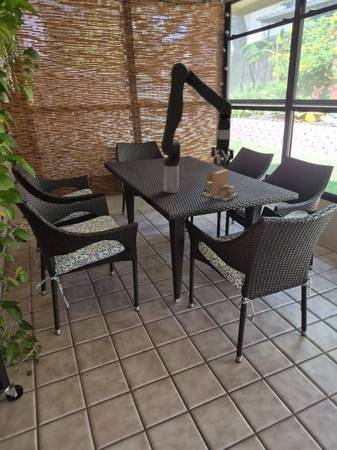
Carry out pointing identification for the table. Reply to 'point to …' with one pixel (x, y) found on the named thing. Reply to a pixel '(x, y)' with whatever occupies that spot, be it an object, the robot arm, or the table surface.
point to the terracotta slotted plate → (219, 181)
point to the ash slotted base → (224, 194)
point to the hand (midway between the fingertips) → (221, 165)
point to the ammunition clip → (209, 177)
